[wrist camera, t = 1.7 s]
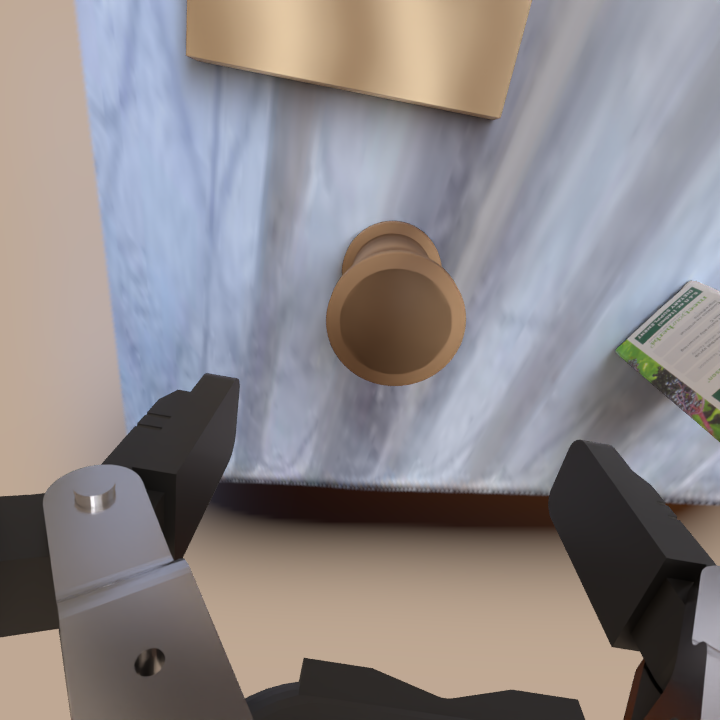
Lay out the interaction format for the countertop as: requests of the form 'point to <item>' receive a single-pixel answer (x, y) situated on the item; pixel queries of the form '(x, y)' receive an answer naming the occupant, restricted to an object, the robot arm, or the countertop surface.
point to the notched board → (371, 46)
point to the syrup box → (683, 353)
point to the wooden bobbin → (394, 307)
